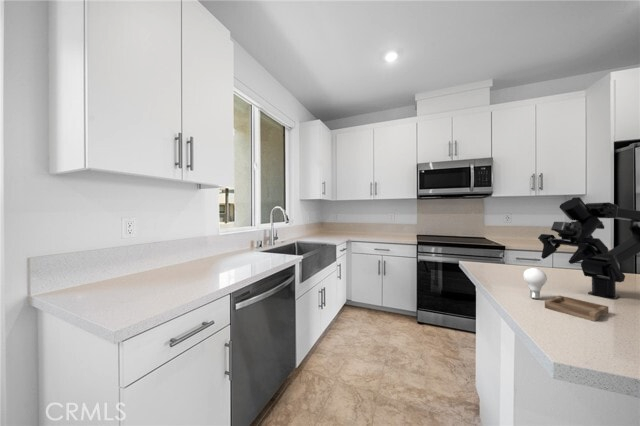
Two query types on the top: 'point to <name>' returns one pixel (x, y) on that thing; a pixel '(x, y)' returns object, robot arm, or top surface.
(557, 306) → the walnut tray
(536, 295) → the lightbulb
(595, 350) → the top surface
